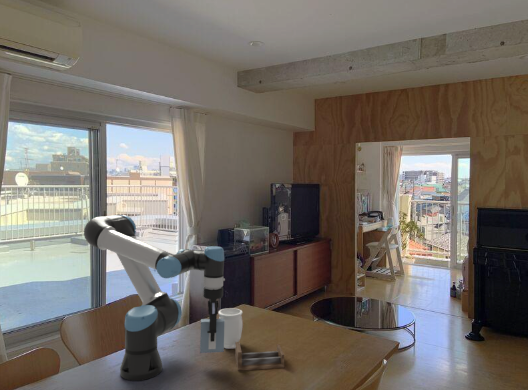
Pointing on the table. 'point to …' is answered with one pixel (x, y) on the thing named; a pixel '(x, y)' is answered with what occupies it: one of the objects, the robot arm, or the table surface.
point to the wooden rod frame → (258, 359)
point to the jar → (231, 326)
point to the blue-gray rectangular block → (205, 336)
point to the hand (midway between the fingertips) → (211, 346)
